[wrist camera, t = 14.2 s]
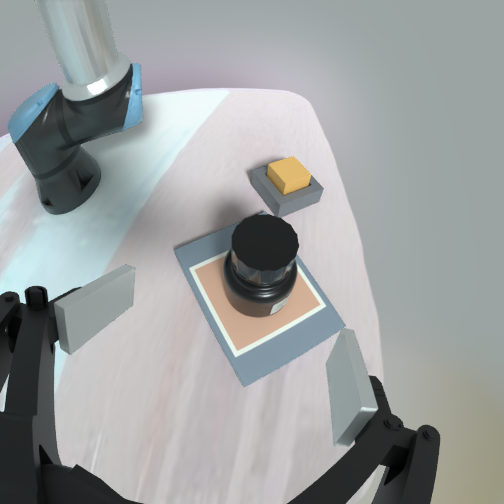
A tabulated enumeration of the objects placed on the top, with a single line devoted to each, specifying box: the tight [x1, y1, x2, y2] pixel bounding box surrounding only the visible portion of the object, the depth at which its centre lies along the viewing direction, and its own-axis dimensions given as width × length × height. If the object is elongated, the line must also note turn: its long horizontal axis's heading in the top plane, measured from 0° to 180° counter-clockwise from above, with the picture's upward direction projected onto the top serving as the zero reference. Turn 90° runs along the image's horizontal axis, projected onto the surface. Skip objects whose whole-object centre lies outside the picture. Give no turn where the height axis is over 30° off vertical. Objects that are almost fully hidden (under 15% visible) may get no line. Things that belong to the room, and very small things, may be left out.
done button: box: [267, 156, 311, 196], centre depth 45 cm, size 5×5×4 cm
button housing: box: [251, 165, 324, 218], centre depth 47 cm, size 9×9×4 cm
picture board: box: [174, 211, 346, 387], centre depth 38 cm, size 22×16×1 cm
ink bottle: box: [223, 214, 299, 318], centre depth 32 cm, size 10×9×12 cm
